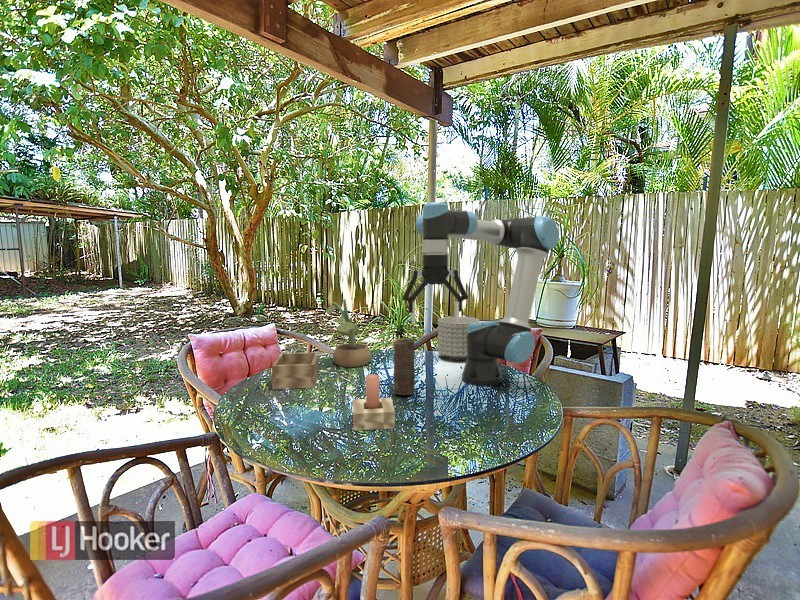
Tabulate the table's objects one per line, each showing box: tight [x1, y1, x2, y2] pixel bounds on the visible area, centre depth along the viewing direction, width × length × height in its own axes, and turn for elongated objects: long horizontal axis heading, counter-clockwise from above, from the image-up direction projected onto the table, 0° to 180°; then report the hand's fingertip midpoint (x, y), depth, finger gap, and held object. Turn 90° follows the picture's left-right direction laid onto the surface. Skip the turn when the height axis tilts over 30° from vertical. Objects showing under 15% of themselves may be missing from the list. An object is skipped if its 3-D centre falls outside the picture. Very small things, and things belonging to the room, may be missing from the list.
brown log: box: [393, 338, 415, 396], centre depth 157 cm, size 8×7×20 cm
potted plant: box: [325, 298, 372, 368], centre depth 197 cm, size 22×18×30 cm
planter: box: [437, 316, 480, 361], centre depth 208 cm, size 19×19×18 cm
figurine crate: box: [271, 351, 320, 389], centre depth 175 cm, size 15×19×9 cm
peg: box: [365, 374, 381, 409], centre depth 134 cm, size 4×4×14 cm
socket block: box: [352, 397, 396, 431], centre depth 134 cm, size 12×12×5 cm
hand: (435, 322), depth 139 cm, fingers open, 13 cm apart
